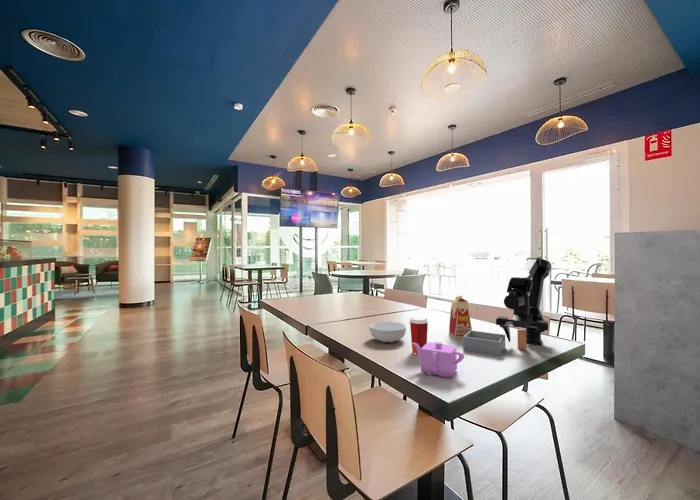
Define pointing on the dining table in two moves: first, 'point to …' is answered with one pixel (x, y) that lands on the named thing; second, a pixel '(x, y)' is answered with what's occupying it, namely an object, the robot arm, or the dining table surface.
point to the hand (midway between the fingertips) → (522, 343)
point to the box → (484, 342)
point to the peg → (522, 339)
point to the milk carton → (459, 318)
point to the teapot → (439, 358)
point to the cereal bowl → (387, 331)
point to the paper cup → (418, 331)
